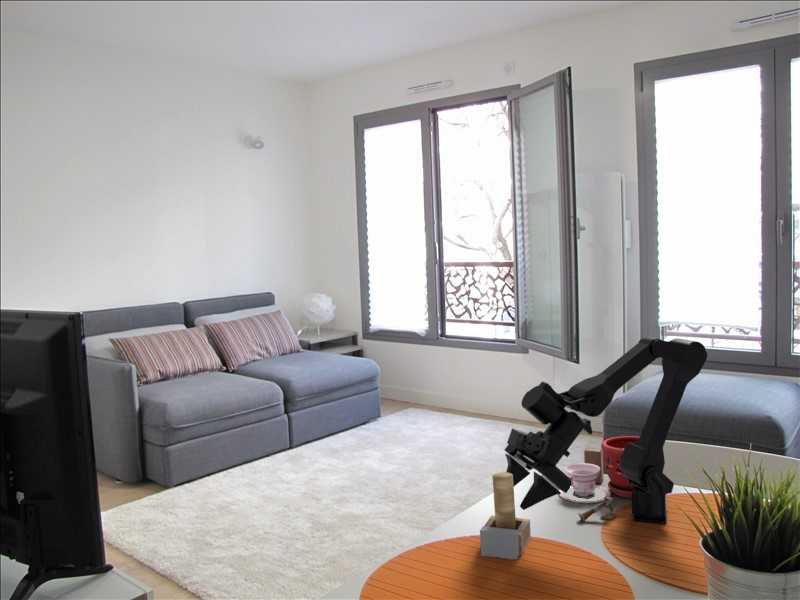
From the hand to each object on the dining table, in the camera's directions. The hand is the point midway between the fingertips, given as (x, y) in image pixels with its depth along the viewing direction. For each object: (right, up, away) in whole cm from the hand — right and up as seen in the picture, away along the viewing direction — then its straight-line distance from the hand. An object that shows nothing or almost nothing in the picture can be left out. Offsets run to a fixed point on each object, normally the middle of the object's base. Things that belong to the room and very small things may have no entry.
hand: (511, 500), depth 136 cm
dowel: (-1, -8, 0) cm, 8 cm away
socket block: (-1, -9, 0) cm, 9 cm away
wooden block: (+26, -5, +33) cm, 42 cm away
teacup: (+21, -6, +25) cm, 33 cm away
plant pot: (+32, -5, +24) cm, 41 cm away
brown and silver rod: (+20, -7, +10) cm, 24 cm away
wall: (-3, -9, -4) cm, 11 cm away
